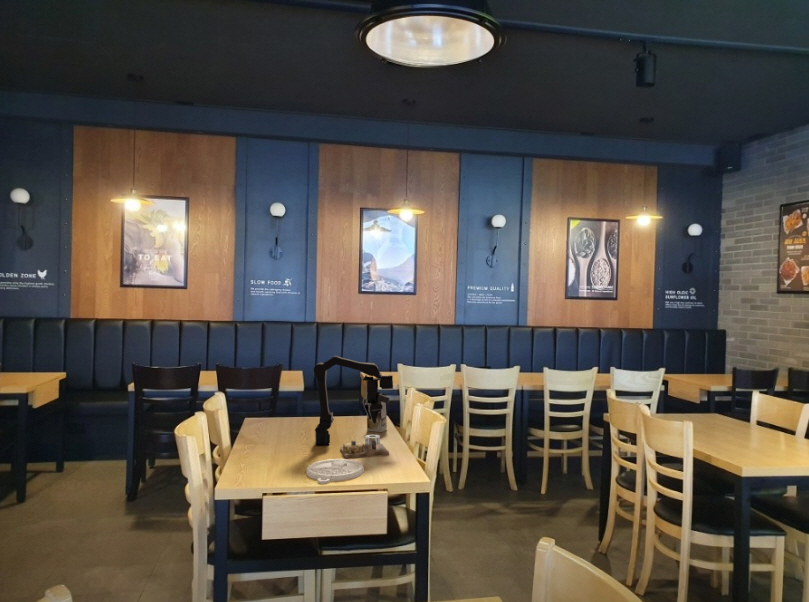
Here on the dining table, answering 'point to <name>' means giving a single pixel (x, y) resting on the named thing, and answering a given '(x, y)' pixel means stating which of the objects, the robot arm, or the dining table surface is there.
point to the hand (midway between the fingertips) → (372, 421)
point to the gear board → (363, 450)
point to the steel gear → (372, 439)
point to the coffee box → (378, 421)
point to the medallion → (334, 470)
